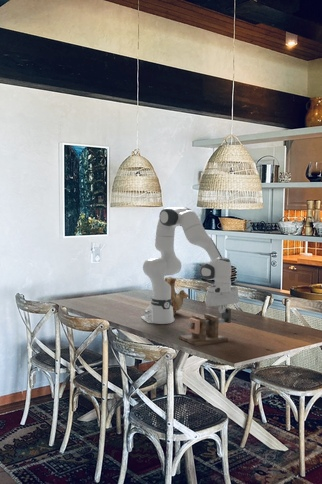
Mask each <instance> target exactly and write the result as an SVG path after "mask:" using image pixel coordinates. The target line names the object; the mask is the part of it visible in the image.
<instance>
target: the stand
mask: <svg viewBox="0 0 322 484" xmlns="http://www.w3.org/2000/svg"><path fill="white" fill-rule="evenodd" d="M203 315H204V317H202V316H199V315H197V314H193V315H191V318H195V319H198V320H200V334H195V333H192V332H191V334H189V333H188V334H183V335H182V334H181V335H178V336H179V337H178V338H179V339H180V340H181V339H182V341H184V342H186V343H189V344H191V345H193V346H204V345H209V344H210V345H212V344H217V343H223V342H228V340H229V339H228V337H226V336H223V335H219V324H220V323H219V319H220V318H219V316H215V315H213V314H210V313H204V314H203ZM206 320H211V325H206ZM194 328H195V327H194Z"/></svg>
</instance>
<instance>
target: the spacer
mask: <svg viewBox="0 0 322 484" xmlns="http://www.w3.org/2000/svg"><path fill="white" fill-rule="evenodd" d="M189 322H193V323H195V328H194V327H189V326H188V331H189V332H190V333H191V334H192V333H195V334H200V320H198V319H195V318H192V317H188V323H189Z"/></svg>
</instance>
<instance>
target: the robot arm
mask: <svg viewBox="0 0 322 484" xmlns="http://www.w3.org/2000/svg"><path fill="white" fill-rule="evenodd" d="M158 217H159V219H158V221H157V224H156V225H157V226H156V231H155V239H154V241H155V242H154V246H155V249H156V250H157V251H159V252H160V254H161V255H160V256H161V257H152V258H149V259H146V260H145V261H143V264H142V270H143V273H144V275H146V276H147V277H148V278H149V279H150V280H149V281H150V282H151V285H152V298H150V301H151V302H150V304H149V305H148V306H147V307H146V308H145V311H144V315H142V316H140V318H141V320H143V321H145V322H146V323H148V324H159V325H165V324H166V325H167V324H171V323H173V322H174V321H175V320H176V318H175V317H174V315H173V307H172V306H171V304H172V299H171V286H170V284H169V283H167V282H166V281H165V276H173V275H177V274H179V273H180V272H181V269H182V261H181V260H180V259H179V258H178V257H177V255H176V253H175V246H174V245H175V231H176V228H177V227H182V231H183V233H184V235H185V238H186V240H187V241H188V242H189V244H192V245H193V246H197V247H200V248H202V249H203V250H205V252H206V253H207V255H208V256H209V258H210V261H208V262H205V263H204V262H203V263H202V264H201V266H200V270H199V271H200V272H199V274H200V276H201V278H202V279H204V280H205V281H212V280H214V283H213V284H211V285H209V286H207V287H206V294H205V303H204V304H205V305H206V306H207V307H217V309H218V313H219V314H222V313H225V310H226V308H228V305H237V304H238V303H239V302H240V301H239V299H240V297H239V289H238V287H236V286H232V280H231V277H232V262H231V260H230V259H229V258H227V257H223V256H222V255H221V252H220V251H219V249H218V248H217V245H216V243H215V242H214V240H213V239H212V237H211V236H209V234H208V233H207V231H206V230H205V227H204V225H203V224H202V221H201V219H200V218H199V215H198V214H197V213H196V211H194V210H192V209H191V208H189V207H186V206H174V207H165V208H163V209H161V211H160V213H159V216H158ZM222 307H223V309H222Z"/></svg>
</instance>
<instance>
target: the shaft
mask: <svg viewBox="0 0 322 484" xmlns="http://www.w3.org/2000/svg"><path fill="white" fill-rule="evenodd" d="M221 309H223V306H222V307H221ZM231 320H232V309H231V308H228V307H227V308H226V310H225V313H221V317H220V318H219V324H223V323H227V324H231V322H232V321H231ZM206 325H211V320H206ZM187 326H188V328H189V327H195V323H193V322H189V321H188V325H187Z"/></svg>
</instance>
